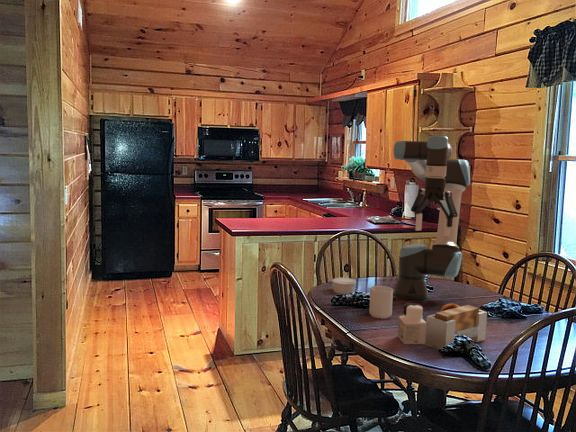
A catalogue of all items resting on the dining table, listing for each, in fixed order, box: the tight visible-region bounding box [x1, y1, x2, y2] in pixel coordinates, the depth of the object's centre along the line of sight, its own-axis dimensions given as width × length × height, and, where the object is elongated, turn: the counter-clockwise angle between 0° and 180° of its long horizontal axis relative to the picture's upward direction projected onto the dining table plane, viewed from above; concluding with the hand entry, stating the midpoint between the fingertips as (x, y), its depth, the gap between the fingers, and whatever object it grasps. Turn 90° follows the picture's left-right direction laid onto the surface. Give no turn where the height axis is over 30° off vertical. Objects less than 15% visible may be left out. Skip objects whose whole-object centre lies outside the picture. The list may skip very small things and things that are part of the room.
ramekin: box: [331, 277, 357, 295], centre depth 249 cm, size 11×11×5 cm
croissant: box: [440, 303, 461, 312], centre depth 213 cm, size 21×10×8 cm, turn 155°
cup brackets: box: [424, 309, 488, 351], centre depth 187 cm, size 22×8×10 cm, turn 126°
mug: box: [369, 285, 394, 320], centre depth 216 cm, size 12×9×11 cm
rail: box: [434, 304, 480, 333], centre depth 186 cm, size 18×4×6 cm, turn 126°
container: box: [397, 302, 426, 345], centre depth 188 cm, size 8×8×13 cm
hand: (432, 233), depth 206 cm, fingers open, 13 cm apart
